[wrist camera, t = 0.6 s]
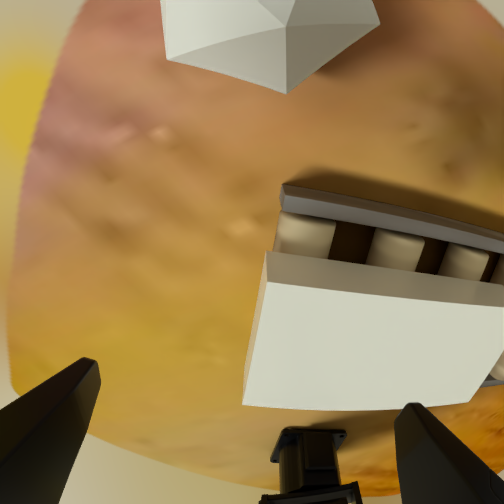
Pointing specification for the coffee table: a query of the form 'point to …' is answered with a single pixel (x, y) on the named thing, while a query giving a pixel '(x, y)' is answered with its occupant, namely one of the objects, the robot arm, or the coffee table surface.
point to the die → (264, 36)
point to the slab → (368, 336)
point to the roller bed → (387, 238)
